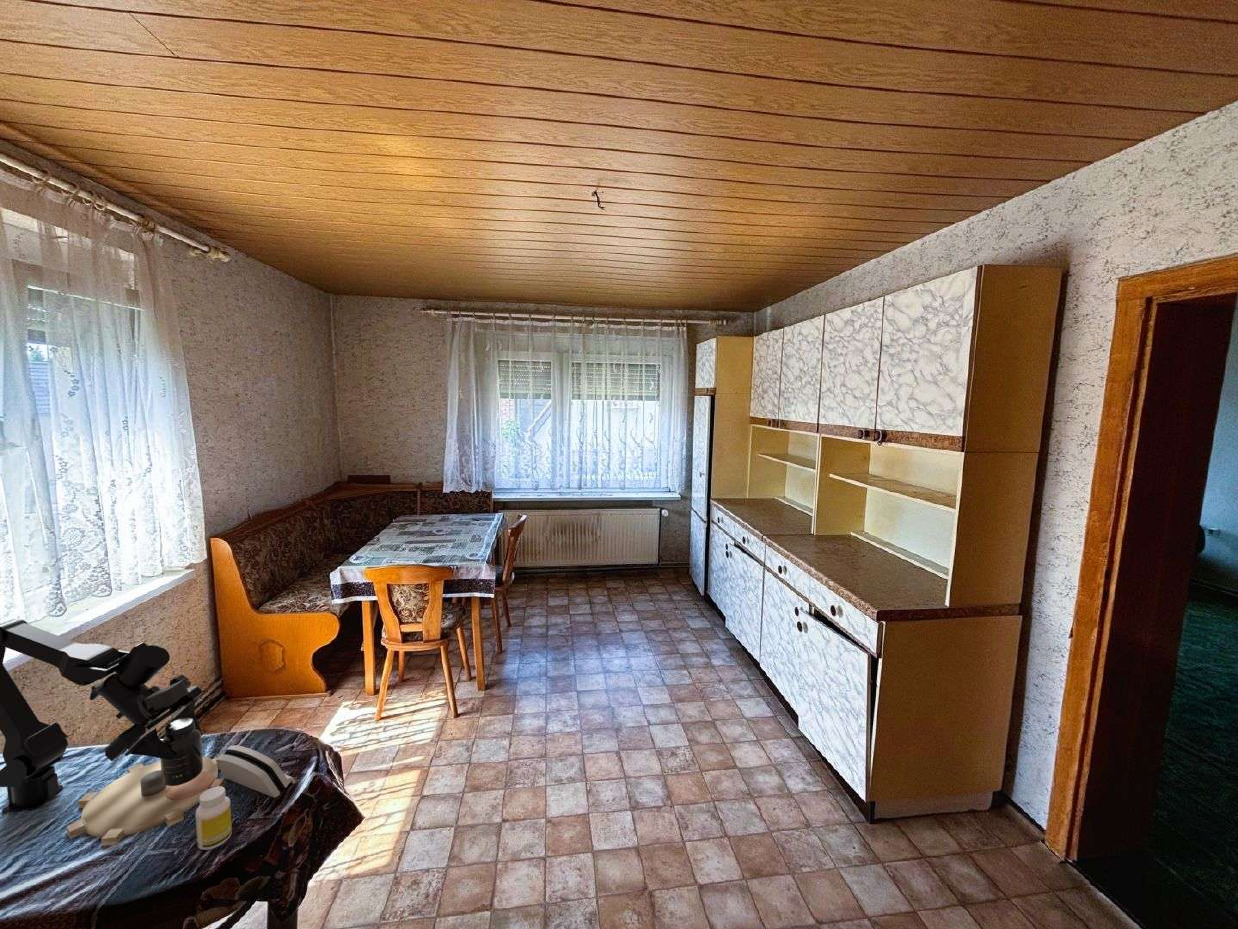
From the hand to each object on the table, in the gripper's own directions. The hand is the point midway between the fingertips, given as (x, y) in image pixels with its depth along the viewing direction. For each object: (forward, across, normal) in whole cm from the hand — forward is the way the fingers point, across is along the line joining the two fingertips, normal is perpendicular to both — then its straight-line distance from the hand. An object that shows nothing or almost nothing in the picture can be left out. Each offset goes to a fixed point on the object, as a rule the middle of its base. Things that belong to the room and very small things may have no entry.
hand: (187, 747), depth 111 cm
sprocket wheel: (+3, +1, +15) cm, 15 cm away
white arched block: (+16, +5, +2) cm, 17 cm away
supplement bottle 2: (+18, -10, 0) cm, 20 cm away
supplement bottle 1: (+4, 0, +6) cm, 7 cm away
